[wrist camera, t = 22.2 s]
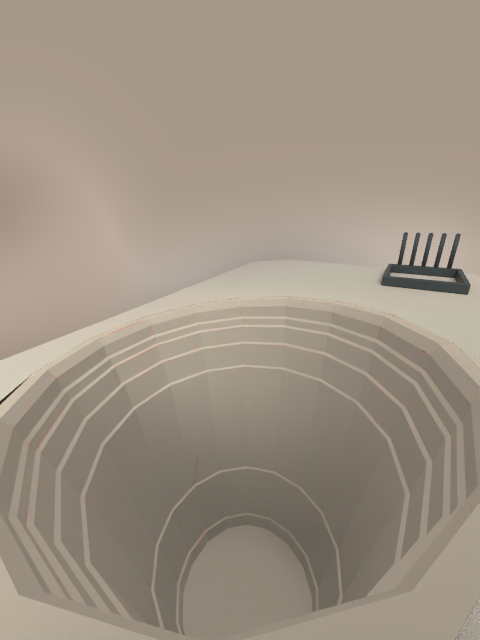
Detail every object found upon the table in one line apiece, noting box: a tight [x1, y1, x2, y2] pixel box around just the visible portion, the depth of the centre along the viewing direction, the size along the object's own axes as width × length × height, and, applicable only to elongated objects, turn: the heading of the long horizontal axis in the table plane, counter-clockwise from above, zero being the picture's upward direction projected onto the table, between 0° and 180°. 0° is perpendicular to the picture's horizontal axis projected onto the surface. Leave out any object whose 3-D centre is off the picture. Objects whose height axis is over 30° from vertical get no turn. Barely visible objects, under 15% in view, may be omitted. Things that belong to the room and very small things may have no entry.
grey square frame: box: [381, 232, 471, 294], centre depth 56 cm, size 14×14×9 cm
